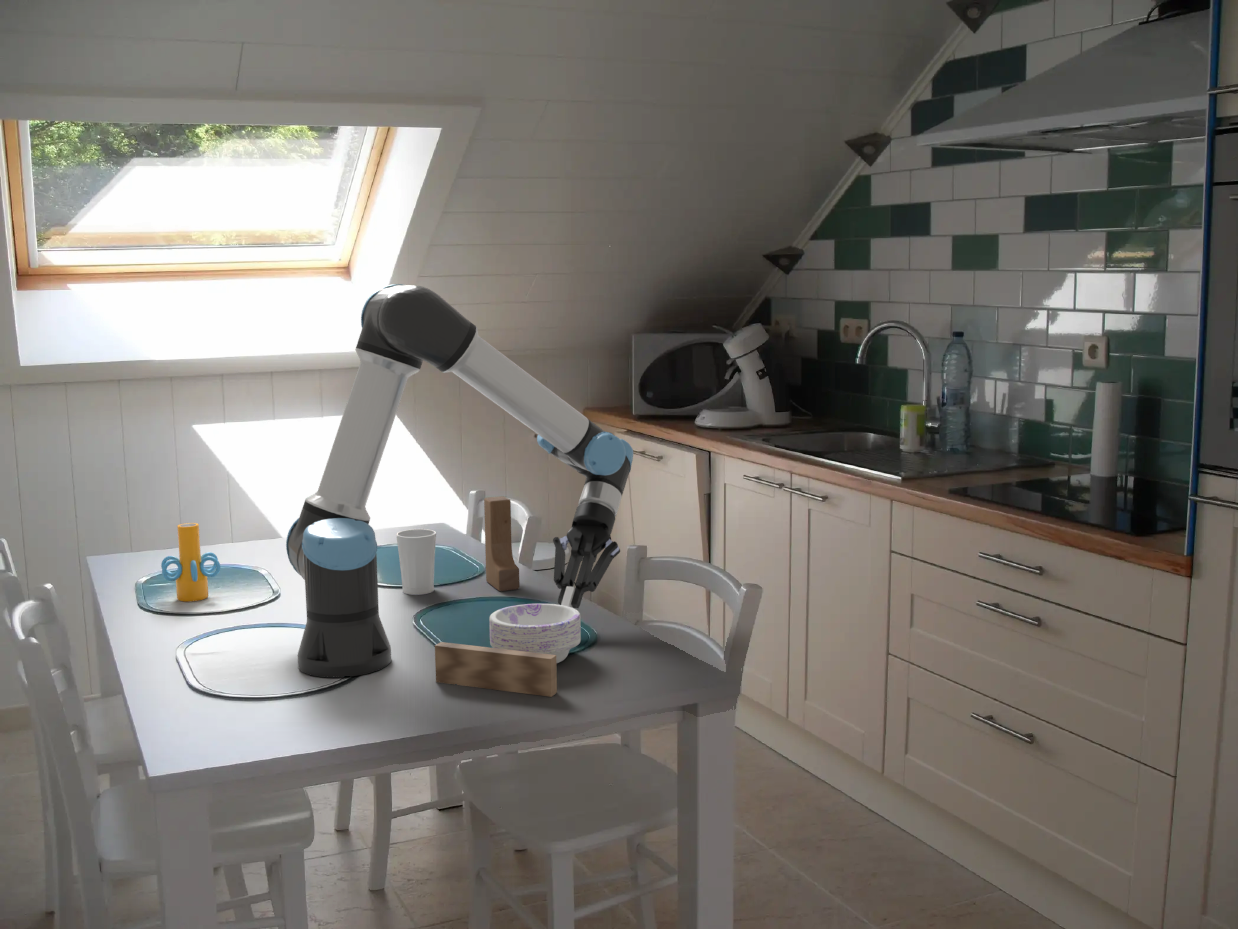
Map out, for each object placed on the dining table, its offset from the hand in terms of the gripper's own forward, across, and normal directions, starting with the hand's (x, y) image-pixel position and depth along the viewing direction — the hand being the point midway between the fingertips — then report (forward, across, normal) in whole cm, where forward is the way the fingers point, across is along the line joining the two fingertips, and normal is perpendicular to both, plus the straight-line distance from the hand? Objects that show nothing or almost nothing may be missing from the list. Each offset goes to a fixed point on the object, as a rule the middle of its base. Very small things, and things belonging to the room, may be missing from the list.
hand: (562, 622), depth 211 cm
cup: (-12, +41, -16) cm, 46 cm away
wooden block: (-18, +26, -23) cm, 39 cm away
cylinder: (+2, +81, -2) cm, 81 cm away
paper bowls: (+11, 0, +6) cm, 12 cm away
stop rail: (+21, 0, +17) cm, 27 cm away
